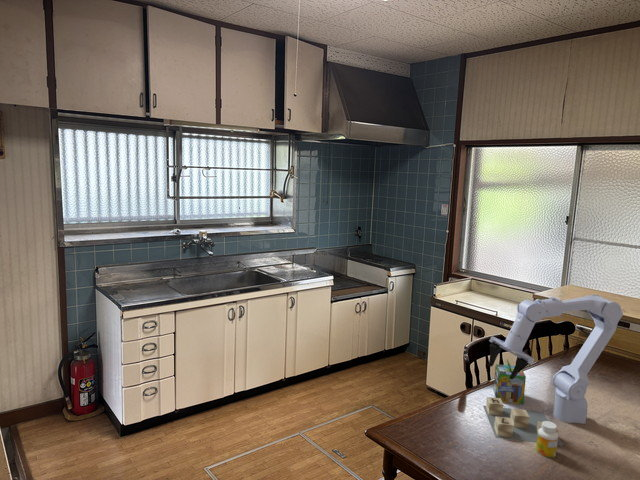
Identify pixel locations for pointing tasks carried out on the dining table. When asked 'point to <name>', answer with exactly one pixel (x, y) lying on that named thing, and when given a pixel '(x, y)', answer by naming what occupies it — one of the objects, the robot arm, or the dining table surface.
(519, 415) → the plain block
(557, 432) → the tan cube
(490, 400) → the block four
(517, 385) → the chalk box
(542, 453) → the supplement bottle
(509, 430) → the block seven
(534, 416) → the mat
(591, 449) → the dining table surface
